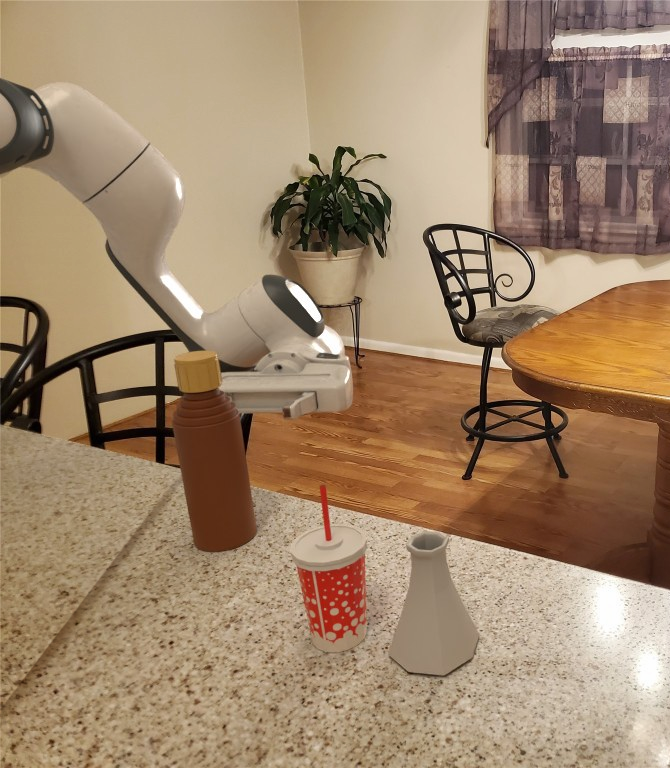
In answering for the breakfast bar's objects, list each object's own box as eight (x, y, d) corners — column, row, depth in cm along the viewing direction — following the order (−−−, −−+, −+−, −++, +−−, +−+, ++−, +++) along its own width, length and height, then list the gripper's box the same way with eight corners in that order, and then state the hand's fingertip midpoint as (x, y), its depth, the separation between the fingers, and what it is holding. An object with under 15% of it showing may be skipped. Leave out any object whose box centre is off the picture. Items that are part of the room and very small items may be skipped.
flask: (372, 660, 55) (361, 552, 52) (423, 610, 61) (416, 511, 58) (447, 689, 52) (440, 575, 49) (494, 634, 58) (490, 529, 55)
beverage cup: (388, 618, 61) (375, 473, 56) (354, 664, 55) (337, 508, 51) (326, 607, 62) (309, 466, 58) (288, 652, 57) (266, 499, 52)
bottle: (186, 554, 71) (151, 371, 65) (203, 524, 78) (173, 354, 71) (249, 548, 72) (221, 367, 66) (262, 519, 78) (237, 350, 72)
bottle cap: (173, 394, 68) (168, 362, 67) (186, 382, 71) (181, 351, 70) (216, 391, 68) (211, 359, 67) (226, 379, 72) (221, 349, 71)
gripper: (211, 357, 93) (158, 389, 80) (360, 355, 93) (330, 387, 79) (218, 401, 95) (167, 439, 82) (364, 399, 94) (336, 437, 81)
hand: (249, 414), depth 81 cm, fingers open, 8 cm apart
